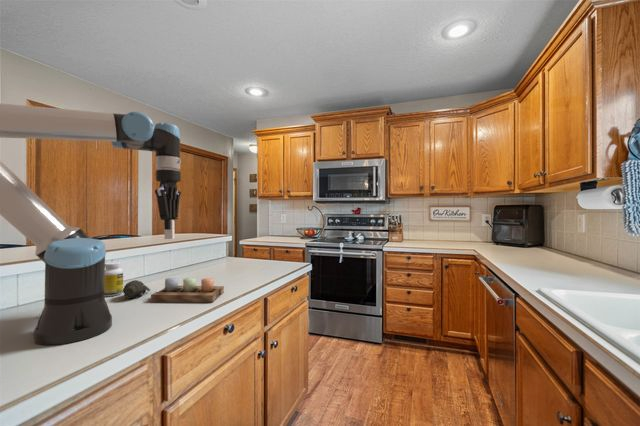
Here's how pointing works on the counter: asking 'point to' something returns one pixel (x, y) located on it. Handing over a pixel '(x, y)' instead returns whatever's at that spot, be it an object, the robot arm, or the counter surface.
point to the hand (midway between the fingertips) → (169, 238)
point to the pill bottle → (113, 279)
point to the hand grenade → (135, 289)
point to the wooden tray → (188, 295)
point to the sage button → (189, 284)
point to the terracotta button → (207, 285)
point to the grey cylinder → (171, 284)
